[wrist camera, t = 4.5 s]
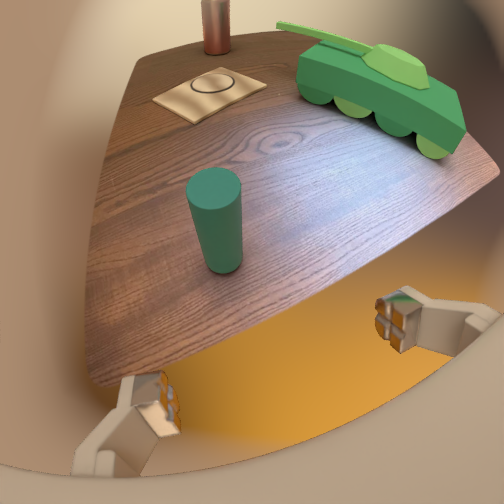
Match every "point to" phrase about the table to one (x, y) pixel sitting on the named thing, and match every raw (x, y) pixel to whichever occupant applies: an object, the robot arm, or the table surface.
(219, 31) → the beverage can
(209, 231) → the dot marker
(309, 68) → the toy tank
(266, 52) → the table surface
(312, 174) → the table surface
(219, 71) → the board
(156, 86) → the table surface
